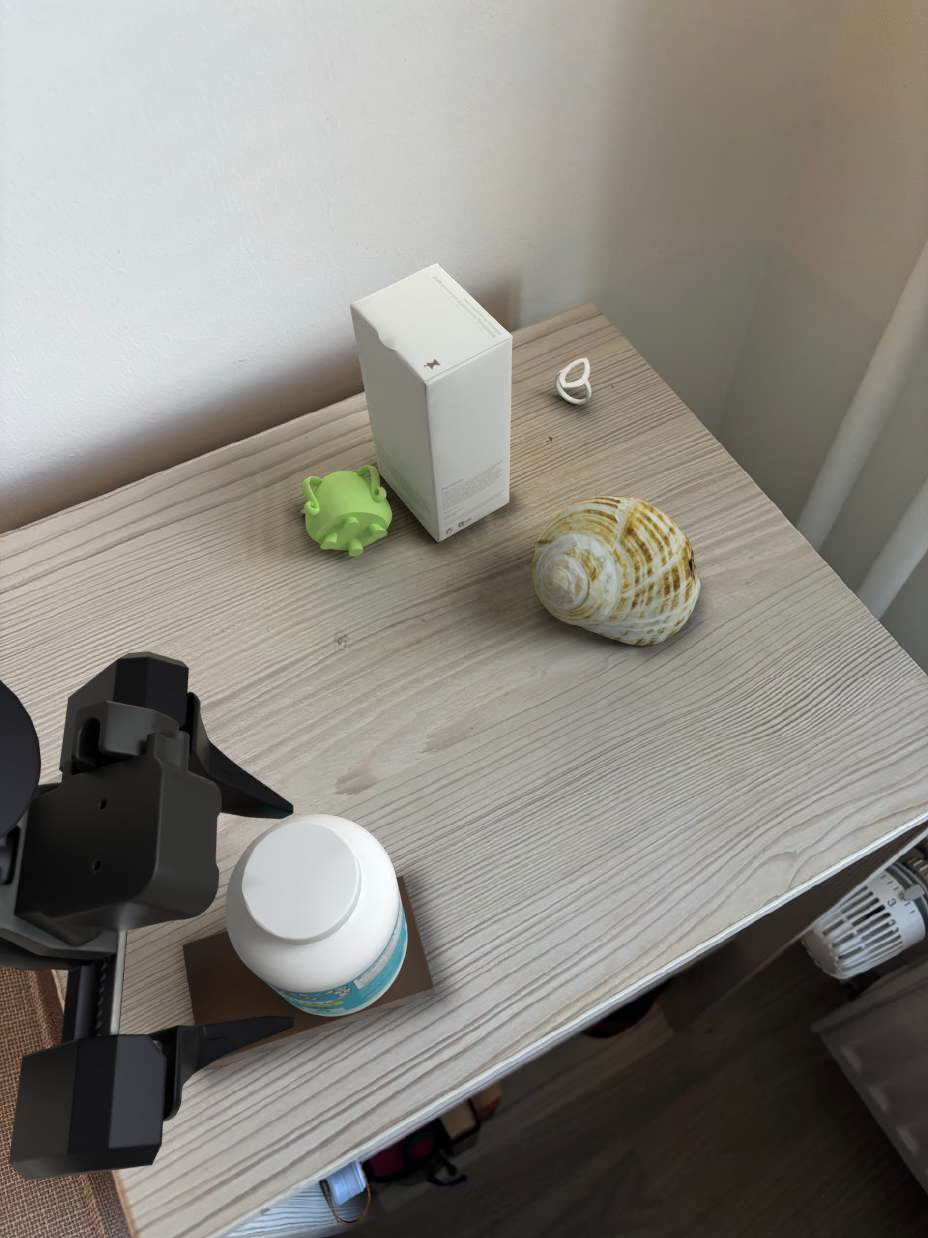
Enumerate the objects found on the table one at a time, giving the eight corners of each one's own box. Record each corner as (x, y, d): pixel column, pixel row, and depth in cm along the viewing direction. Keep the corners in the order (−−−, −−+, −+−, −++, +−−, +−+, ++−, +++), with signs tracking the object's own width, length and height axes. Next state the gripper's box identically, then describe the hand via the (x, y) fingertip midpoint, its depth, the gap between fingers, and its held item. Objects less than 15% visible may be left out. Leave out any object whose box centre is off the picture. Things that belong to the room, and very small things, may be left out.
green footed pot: (386, 495, 66) (380, 441, 61) (403, 555, 63) (398, 505, 58) (300, 512, 65) (287, 460, 60) (314, 574, 62) (301, 525, 57)
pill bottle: (237, 962, 48) (163, 900, 36) (326, 845, 51) (285, 753, 39) (351, 1052, 45) (312, 1017, 34) (437, 924, 49) (429, 852, 37)
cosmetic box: (510, 505, 65) (522, 338, 52) (432, 549, 63) (424, 387, 50) (445, 431, 69) (440, 256, 55) (369, 470, 67) (345, 299, 53)
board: (212, 1070, 47) (200, 1066, 45) (193, 953, 50) (181, 944, 48) (436, 994, 49) (434, 987, 47) (405, 886, 52) (403, 874, 50)
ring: (548, 389, 71) (553, 361, 68) (580, 384, 71) (587, 356, 69) (557, 415, 70) (562, 387, 67) (590, 409, 70) (597, 382, 67)
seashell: (732, 589, 61) (720, 554, 52) (623, 687, 62) (592, 669, 53) (630, 487, 65) (602, 436, 55) (529, 581, 66) (484, 547, 57)
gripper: (-50, 1180, 22) (430, 1134, 32) (50, 532, 31) (396, 657, 41) (-193, 1203, 28) (245, 1158, 38) (-75, 660, 37) (252, 741, 47)
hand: (289, 912), depth 41 cm, fingers open, 9 cm apart
